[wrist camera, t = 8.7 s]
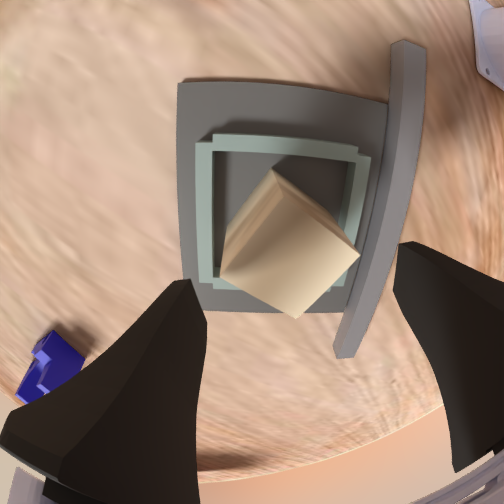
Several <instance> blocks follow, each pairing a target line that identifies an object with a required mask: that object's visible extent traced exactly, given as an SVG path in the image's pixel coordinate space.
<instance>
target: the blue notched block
mask: <svg viewBox="0 0 504 504" xmlns="http://www.w3.org/2000/svg"><path fill="white" fill-rule="evenodd" d="M31 353H33V354H34V356H35V357H36V358H37V359H36V360H35V361H33V362H32V363H31V365H30V367H29V369H28V370H27V372H26V374H25V376H24V378H23V380H22V382H21V384H20V386H19V388H18V390H17V392H16V394H15V395H16V396H17V397H18V398H19V399H20V400H21V401H23V402H24V403H25V404H28V403H30V402H32V401H34V400H36V399H38V398H40V397H42V396H43V395H44V394H45V393H46V394H47V393H49V392H50V391H52V390H54V389H55V388H57V387H59V386H60V385H62V384H63V383H65V382H66V381H68V380H69V379H71V378H72V377H73V376H75V375H76V374H77V373H79V372H80V370H81V368H82V366H83V364H84V361H85V358H84V357H82V356H81V355H80V354H79V353H78V352H77V351H75V350H74V349H73V348H72V347H71V346H70V345H69V344H68V343H67V342H66V341H64V340H63V339H62V338H61V337H60V336H59V335H58V334H57V333H56V332H55V331H54V330H53V331H52V332H50V333H49V334H48V335H47V336H46V337H44V338H43V339H42V340H41V341H40V342H38V343H37V344H36V345H35V347H34V349H33V350H32V352H31Z"/></svg>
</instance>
